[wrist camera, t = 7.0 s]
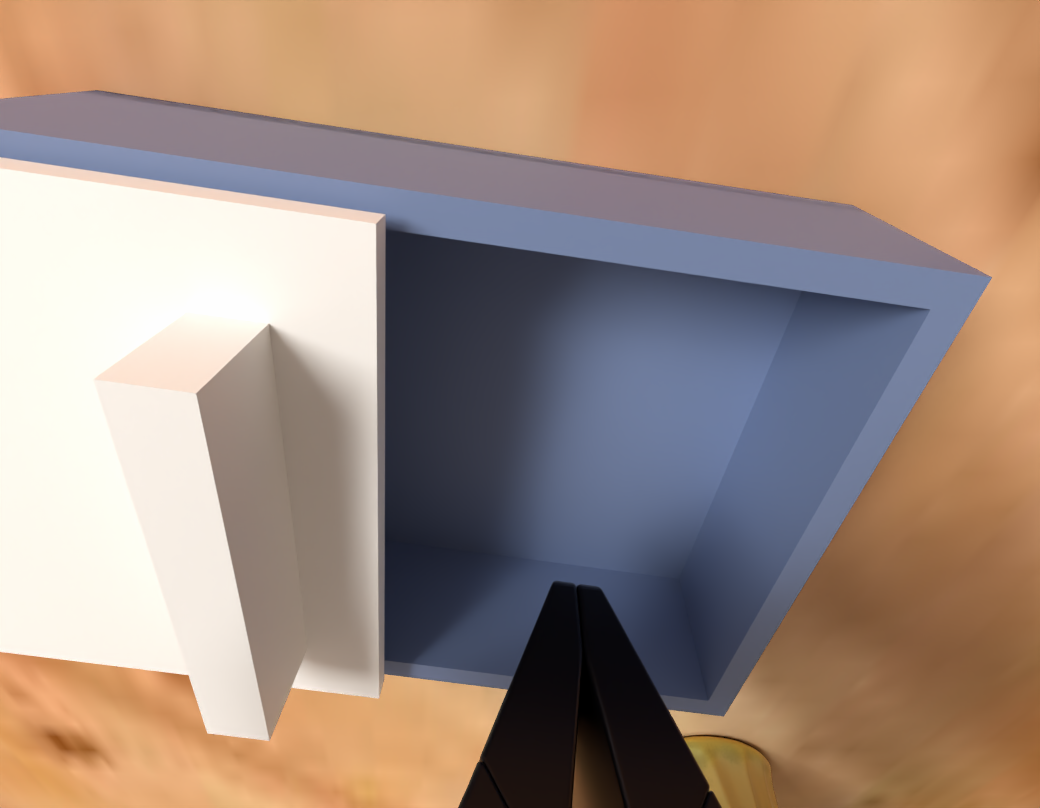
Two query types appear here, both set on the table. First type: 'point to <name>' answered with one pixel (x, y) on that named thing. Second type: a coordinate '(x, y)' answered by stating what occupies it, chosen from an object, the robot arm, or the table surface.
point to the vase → (734, 772)
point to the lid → (192, 436)
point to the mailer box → (584, 375)
